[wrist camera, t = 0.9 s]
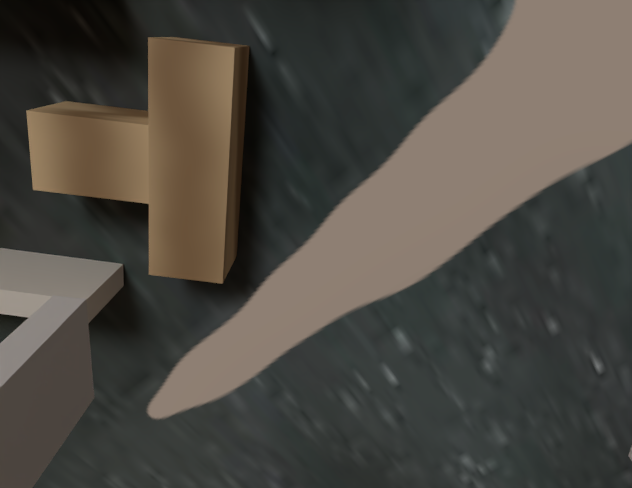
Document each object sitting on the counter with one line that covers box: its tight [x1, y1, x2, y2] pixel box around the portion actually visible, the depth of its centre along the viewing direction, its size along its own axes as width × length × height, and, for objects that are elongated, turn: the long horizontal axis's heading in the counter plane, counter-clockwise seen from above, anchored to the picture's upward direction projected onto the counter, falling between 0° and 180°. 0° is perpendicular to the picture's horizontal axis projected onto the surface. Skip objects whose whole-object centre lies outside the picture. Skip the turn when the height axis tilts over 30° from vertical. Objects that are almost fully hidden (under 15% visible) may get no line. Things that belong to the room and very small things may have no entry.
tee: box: [27, 37, 249, 284], centre depth 29 cm, size 10×12×4 cm
